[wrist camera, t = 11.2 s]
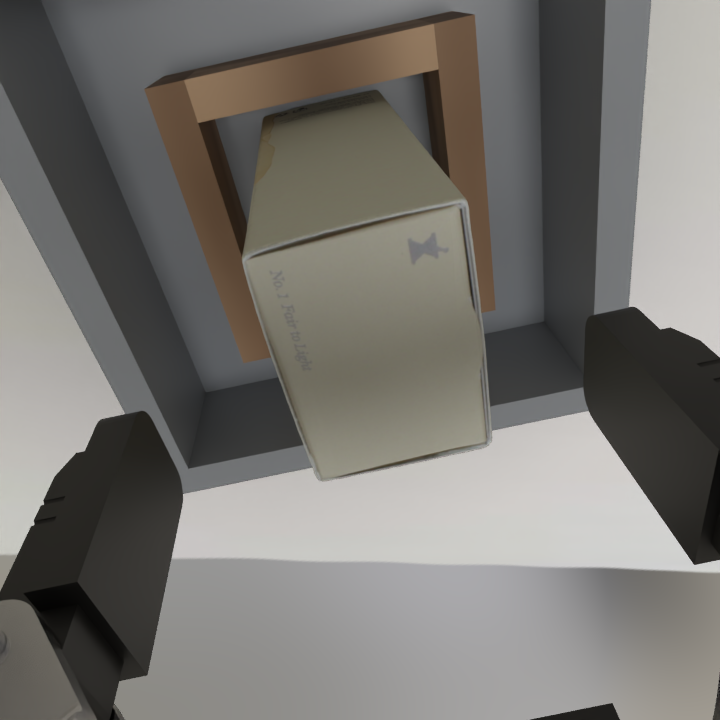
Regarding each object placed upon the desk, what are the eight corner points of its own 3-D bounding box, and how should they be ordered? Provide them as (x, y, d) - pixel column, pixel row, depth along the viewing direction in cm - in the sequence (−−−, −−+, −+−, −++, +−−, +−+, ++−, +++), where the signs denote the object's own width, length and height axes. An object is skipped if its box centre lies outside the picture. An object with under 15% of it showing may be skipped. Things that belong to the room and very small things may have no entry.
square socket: (249, 325, 25) (243, 363, 22) (163, 75, 19) (143, 89, 17) (475, 276, 25) (495, 310, 22) (451, 10, 19) (475, 14, 17)
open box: (192, 405, 28) (169, 496, 23) (-6, -42, 18) (-122, -53, 13) (562, 327, 27) (621, 404, 22) (563, -175, 18) (668, -239, 13)
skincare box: (260, 114, 20) (222, 241, 10) (384, 85, 20) (472, 184, 10) (305, 275, 24) (309, 491, 14) (411, 251, 24) (497, 451, 13)
